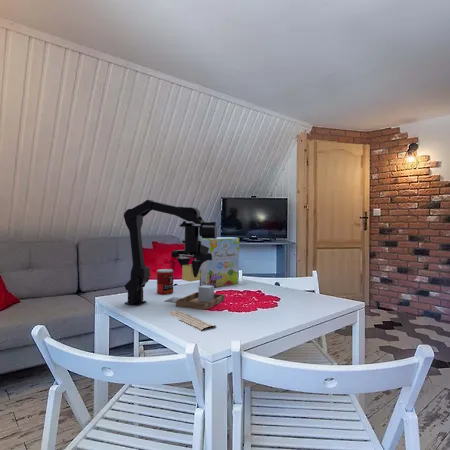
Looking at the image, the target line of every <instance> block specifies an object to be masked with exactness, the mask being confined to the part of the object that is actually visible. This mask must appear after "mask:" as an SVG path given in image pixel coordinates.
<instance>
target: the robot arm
mask: <svg viewBox="0 0 450 450" xmlns="http://www.w3.org/2000/svg"><path fill="white" fill-rule="evenodd" d="M151 211H156V212H160V213H163V214H169V215H173V216H176V217H178V218H180V219H182V220H183V221H182V223H181V224H179V227H182V228H184V239H182V241H181V242H182V244H184V247H183V248H184V249H175V250H172V251H171V255H170V256H171V258H175V259H176V260H177V262H178V263H179V265H180V268H182V265H189V264H190V261H191V264H192V268H193V274H194V277H197V275H198V272H199V269H200V267H201V265H202V263H203V262H206V261H208V260H212V254H211V253H208V251H209V248H208V247H206V246H204V245H201V240H200V237H201V238H206V239H216V238H217V237H218V227H217V222H216V221H210V222H209V221H208V222H207V221H204V219H203V218H202V216H201V211H200V209H198V208H197V207H191V206H176V205H173V204H168V203H167V204H166V203H163V202H159V201H154V200H152V199H145V201H143V202H142V203H140V204H138V205H136V206H134V207H133V208H128V209H126V210H125V211H124V213H123V219H124V222H125V226H126V227H127V229H128V232H129V239H130V242H129V243H130V249H131V259H132V266H131V270H130V279H129V280H128V282H126V283H125V285H124V289H125V290H126V291H127V301H126V302H124V304H125V305H133V306H139V305H143V304H144V303H147V301H146V300H144V288H145V286H146V285H147V283H148V282H149V280H150V277H151V273H150V269H151V268H150V266H147V265H146V263H145V259H144V258H145V257H144V249H143V239H142V238H143V237H142V226H143V223H144V217H146V216H147V215H148V214H149V213H151ZM192 258H193V259H194V260H191V259H192Z"/></svg>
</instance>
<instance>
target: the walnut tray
mask: <svg viewBox="0 0 450 450" xmlns="http://www.w3.org/2000/svg"><path fill="white" fill-rule="evenodd" d="M180 298H181V299H179V300H176V303H175V307H177V308H185V309H186V308H188V309H196V310H204V311H207V310H209V309H211V308H212V307H214V306H216V305H218V304H220V303H222V302H223V301H225V299H226V298H225V294H220V293H219V294H218V293H214V300H212V301H210V302H202V301H198V291H195V292H194V293H191V294H189V295H186V296H184V297H180Z"/></svg>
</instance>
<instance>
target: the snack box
mask: <svg viewBox="0 0 450 450" xmlns="http://www.w3.org/2000/svg"><path fill="white" fill-rule="evenodd" d="M200 241H201V245H204V246H206V247H208V248H209V251H208V253H211V254H212V260H208V261H206V262H203V263H202V265H201V267H200V280H199V287H200V286H203V285H209V286H214V288H218V287H220V288H221V287H225V286H232V285H238V284H239V268H240V267H239V265H240V262H239V261H240V255H239V254H240V237H234V236H232V237H231V236H229V237H228V236H227V237H225V236H221V237H218V236H217V238H216V239H206V238H202V237H200Z"/></svg>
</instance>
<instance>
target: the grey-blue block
mask: <svg viewBox="0 0 450 450" xmlns="http://www.w3.org/2000/svg"><path fill="white" fill-rule="evenodd" d="M197 292H198V301H202V302H210V301H212V300H214V294H215V287H214V286H209V285H203V286H200V285H199V286H198V290H197Z"/></svg>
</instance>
